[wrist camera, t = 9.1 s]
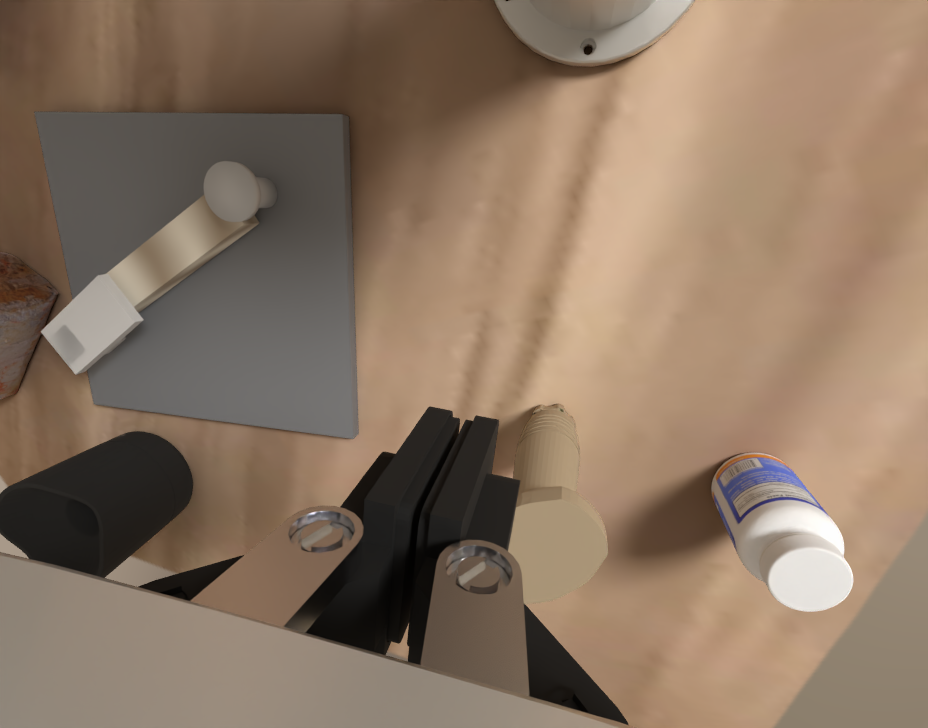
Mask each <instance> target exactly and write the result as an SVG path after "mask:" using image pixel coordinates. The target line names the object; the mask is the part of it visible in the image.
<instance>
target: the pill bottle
mask: <svg viewBox="0 0 928 728" xmlns="http://www.w3.org/2000/svg"><path fill="white" fill-rule="evenodd" d="M711 490H712V497H713V500H714V503H715V505H716V507H717V509H718V512H719V514H720V516H721V518H722V520H723V523H724V525H725V527H726V529H727V531H728V534H729V536H730V538H731V540H732V542H733V545H734V547H735V549H736V551H737V554H738V556H739V558H740V559H741V561H742V563H743V565H744V566H745V567H746V569H747V570H748V571H749V572H750V573H751V574H752V575H753V576H755V577H756V578H758V579H759V580H761V581H763V582H765V584H766V585H767V587H768V589H769V591H770V592H771V594H772V595H773V596H774V597H775V599H777V600H778V601H779V602H780V603H782V604H783V605H785V606H787V607H789V608H792V609H795V610H800V611H808V612H812V611H821V610H826V609H828V608H831V607H833V606H836V605H837V604H839V603H840V602H842V601H843V600H844V599H845V598H846V597H847V596H848V594H849V593H850V591H851V588H852V585H853V574H852V571H851V568H850V566H849V565H848V563H847V562H846V560H845V559H844V557H843V556H844V541H843V538H842V535H841V533H840V531H839V529H838V527H837V526H836V524H835V523H834V522H833V520H832V519H831V518H830V517H829V515H828V514H827V513H826V512H825V511H824V509H823V508H822V507H821V506H820V504H819V503H818V502H817V501H816V500H815V498H814V497H813V496H812V495H811V493H810V492H809V491H808V490H807V488H806V487H805V486H804V485H803V483H802V482H801V481H800V479H799V478H798V477H797V476H796V474H795V473H794V472H793V471H792V470H791V468H790V467H789V466H788V465H786V464H785V463H784V462H783V461H781V460H779V459H778V458H776V457H773V456H771V455H768V454H763V453H744V454H740V455H737V456H735V457H733V458H731V459H729V460H728V461H726V462H725V463H724V464H723V465H722V466H721V467H720V468H719V469H718V470H717V472H716V474H715V476H714V478H713V481H712V487H711Z"/></svg>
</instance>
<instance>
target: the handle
mask: <svg viewBox="0 0 928 728" xmlns="http://www.w3.org/2000/svg"><path fill="white" fill-rule="evenodd" d="M579 466H580V447H579V440H578V435H577V432H576V425H575V421H574V419H573V417H572V416H570V415H568V414H567V413H566V411H565V409H564V406H563V405H561V404H556V405H554V406H543V405H539V406H538V407H536V408H535V410H534V411H533V413H532V417H531V418H530V419H529V421H528V422H527V424H526V425H525V427H524V429H523V432H522V434H521V437H520V439H519V443H518V446H517V451H516V455H515V464H514V473H513V479H517V480H520V487H519V493H518V498H517V504H516V510H515V516H514V521H513V527H512V533H511V538H510V543H509V548H508V552H509V553H510V554H512V555H513V556H514V558H515V559H516V561H517V562H518V563H519V565H520V569H521V573H522V584H523V600H524V604H536V603H544V602H550V601H553V600H556V599H558V598H561V597H563V596H565V595H567V594H568V593H570V592H572V591H574V590H576V589H578V588H580V587H581V586H583V585H584V584H586V583H587V582H588V581H589V580H590V579H591V578H592V577H593V575H594V574H595V573H596V571H597V570H598V568H599V567H600V565H601V564H602V562H603V561H604V559H605V558H606V556H607V555H608V545H607V536H606V530H605V526H604V523H603V521H602V519H601V517H600V515H599V514H598V512H597V511H596V509H595V508H594V507H593V506H592V505H591V504H590V503H589V502H588V501H587V500H586V499H585V498H584V497H583V496H581V495H580V494H579V493H577V492H576V490H577V482H578V474H579Z"/></svg>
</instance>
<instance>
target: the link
mask: <svg viewBox="0 0 928 728" xmlns="http://www.w3.org/2000/svg"><path fill="white" fill-rule="evenodd" d="M258 224H259V221H258V220H257V218H256V217H255V215H254V216H253V217H252V218H250V219H248V220H246V221H242V222H229V221H225V220H223V219H221V218H219V217H218V216H217V215H216V214H215V213H214V212H213V211H212V210H211V209H210V207H209V205H208V204H207V201H206V199H205V195H203V196H202V197H201V198H199V199H198V200H197V201H196V202H194V203H193V204H192V205H191V206H189V207H188V208H187V209H186V210H184V211H183V212H182V213H181V214H180V215H178V216H177V217H176V218H175V219H173V220H172V221H171V222H170V223H168V224H167V225H166V226H165V227H163V228H162V229H161V230H160V231H158V232H157V233H156V234H155V235H153V236H152V237H151V238H150V239H148V240H147V241H146V242H145V243H144V244H142V245H141V246H140V247H139V248H137V249H136V250H135V251H134V252H132V253H131V254H130V255H129V256H127V257H126V258H125V259H124V260H122V261H121V262H120V263H119V264H117V265H116V266H115V267H114V268H112V269H111V270H110V271H109V272H108V273H106V274H108V275H109V276H110V277H111V279H112V280H113V281H114V282H115V284H116V285H117V286H118V288H119V289H120V290H121V291H122V293H123V294H124V295H125V297H126V298H127V299H128V300H129V302H130V303H131V304H132V306H133V307H134V308H135V309H136V311H137V312H138V313H139V312H140V311H142V310H143V309H144V308H146V307H147V306H148V305H150V304H151V303H152V302H154V301H155V300H157V299H158V298H159V297H161V296H162V295H163V294H165V293H166V292H167V291H169V290H170V289H171V288H173V287H174V286H175V285H177V284H178V283H179V282H181V281H182V280H184V279H185V278H186V277H188V276H189V275H190V274H192V273H193V272H194V271H196V270H197V269H198V268H200V267H201V266H202V265H204V264H205V263H206V262H208V261H209V260H211V259H212V258H213V257H215V256H216V255H217V254H219V253H220V252H221V251H223V250H224V249H225V248H227V247H228V246H229V245H231V244H232V243H234V242H235V241H236V240H238V239H239V238H240V237H242V236H243V235H244V234H246V233H247V232H248V231H250V230H251V229H252V228H254V227H255V226H256V225H258Z"/></svg>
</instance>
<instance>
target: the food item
mask: <svg viewBox="0 0 928 728" xmlns="http://www.w3.org/2000/svg"><path fill="white" fill-rule="evenodd" d="M57 294H59V293H58V291H57V290H56V289H55V288H53V286H51V285H50V284H49V282H48V281H47V280H46V279H45V278H43V277H42V276H40V275H38V274H37V273H36V272H34V271H33V270H32V269H30V268H29V267H28V266H27V265H25V264H24V263H23V262H22V261H21V260H19V259H18V258H17V257H15V256H13V255H11V254H9V253H2V252H0V399H3V398H5V397H7V396H10V395H12V394H15V393H16V392H17V391H18V390H19V386H20V383H21V380H22V378H23V376H24V373H25V370H26V367H27V364H28V362H29V361H30V359H31V356H32V354H33V351H34V348H35V346H36V344H37V342H38V340H39V337H40V335H41V331H42V330H43V329H44V327H45V324H46V320H47V318H48V316H49V313H50V309H51V307H52V306H53V304H54V302H55V300H56V298H57Z"/></svg>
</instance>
